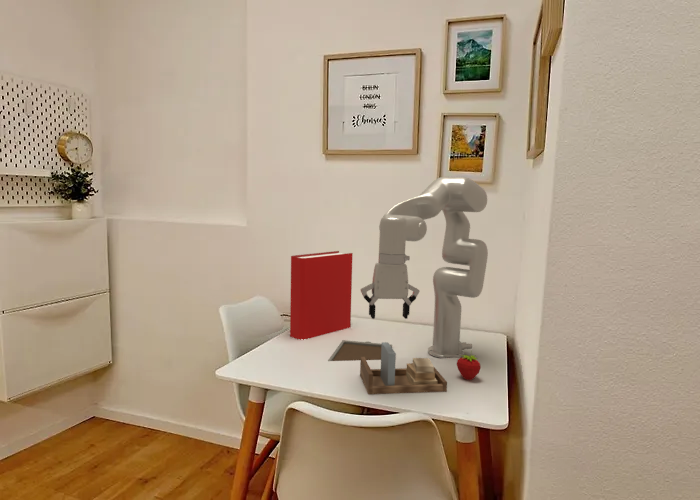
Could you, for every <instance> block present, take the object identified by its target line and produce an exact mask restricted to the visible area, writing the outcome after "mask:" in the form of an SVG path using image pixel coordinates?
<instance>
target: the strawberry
mask: <svg viewBox="0 0 700 500" xmlns="http://www.w3.org/2000/svg"><path fill="white" fill-rule="evenodd" d="M470 352H472V349H470ZM461 356H462V357H460V358H457V361H456V367H457V370H458V372H459V374H460V375H461V377H462V378H463V379H464V380H467V381H472V380H473V379H475V378H476V377H477V376H478V374H479V373H480V372H481V368H482V366H481V363H480V362H479V361H478V360H479V358H477V357H476V355H474V354H473V355H472V354H470V355H467V354H463V355H461Z"/></svg>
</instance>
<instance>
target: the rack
mask: <svg viewBox="0 0 700 500" xmlns="http://www.w3.org/2000/svg"><path fill="white" fill-rule="evenodd" d="M359 366H360V367H359V368H360V370H359V376H360V378H361V381H362V383H363V386H364V388H365V390H366V393H367V395H386V394H387V395H388V394H390V395H391V394H414V393H415V394H416V393H419V394H420V393H441V392H442V393H443V392H446V393H447V391H448V381H447V379H446V378H444V377H443V375H442V374H441V373H440V372H439V371H438V369H437V368H436V367H435V366H434V372H435V378H436V380H437V381H438V383H437V384H423V385H411V384H410V382H409V381H408V379H407V378H406V369H407V367H405V368H404V367H403V368H401V367H400V368H395V385H393V386H385V385H384V383H383V381H382V379H381V377H380V374H381V368H374V369H373V368H372V369H371V367H370V365H369V362H368V360H366V359H365V357H361V360H360V365H359Z"/></svg>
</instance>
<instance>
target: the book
mask: <svg viewBox="0 0 700 500" xmlns="http://www.w3.org/2000/svg"><path fill="white" fill-rule="evenodd" d="M352 281H353V252H348V253H342V252H340V250H335V251H326V252H316V253H306V254H304V253H303V254H297V255H291V256H290V309H289V310H290V311H289V312H290V313H289V315H290V316H289V317H290V318H289V319H290V320H289V321H290V323H289V324H290V325H289V328H290V329H289V330H290V332H289V337H290V338H293V337H294V338H293V339H295V340H298V339H300V340H299V341H304V339H306V340H308V338H309V339H312V338H316V337H320V336H323V335H327V334H328V335H329V334H331V333H334V332H335V333H336V332H339V331H343V330H346V329H350V328H351V326H352V325H351V323H352V322H351V321H352V319H351V318H352V288H353V287H352V283H353V282H352ZM301 339H303V340H301Z"/></svg>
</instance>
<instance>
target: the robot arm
mask: <svg viewBox="0 0 700 500" xmlns="http://www.w3.org/2000/svg"><path fill="white" fill-rule="evenodd" d="M487 204H488V195H487V192H486V190H485V189H484V188H483V187H482V186H481V185H479V184H478V183H477V182H476V181H474V180H472V179H471V178H469V177H465V176H440V177H437V178H436V179H435V180H433V181H432V182H431V183H430V184H429V185H428V186H427V187H426V189H424V190H423V191H422V192H421V193H420V194H419V195H416V196H414V197H411V198H409V199H406V200H404V201H402V202H399V203H396V204H395V205H393V206H392V207H391V208H390V209H389V210H387V211H386V212H385V214H384V215H383V217H381V218H380V220H379V226H378V227H379V236H378V237H379V238H378V239H379V240H378V243H379V244H378V261H377V262H376V263H375V264H374V268H373V275H372V283H370V284H368V285H366V286H363V287H362V288H360V293H361V295H362V297H363V299H364V300H366V302H367V303H368V315H369V316H370V317H371V319H373V320H374V319H375V318H376V304H375V303H376V302H377V301H379V299H381V300H403V303H402V317H403V318H404V319H405V320H406V319H407V320H408V317H409V316H410V310H411V309H410V308H411V307H410V306H411V305H412V303H413V302H415V300H416V299H417V297H418V295H419V293H420V289H418V288H417V287H415V286H413V285H411V284H409V273H408V267H407V266H408V265H407V264H406V261H410V255H406V243H407V242H418V241H419V242H420V241H421V240H422V239H424V237H425V236H426V235H427V232H428V231H427V230H428V229H427V228H428V226H427V224H426V223H427V222H426V221H425V220H429V219H432V218H435V217H436V216H438V215H439V214H440V213H441V212H442V213H443V216H444V220H445V232H444V238H443V243H442V249H441V250H442V251H441V257H442V260H443V261H444V262H445V263H447V264H451V265H452V264H453V265H460V266H469V269H466V268H460V267H459V268H458V267H452V266H442V267H441V266H440V267H439V268H437V269H436V270H435V271H434V273H433V276H432V283H433V284H432V285H433V291H434V311H433V312H434V313H433V314H434V316H433V328H432V329H433V331H432V333H433V334H432V345H431V346H429V347H428V348H427V353H428V354H429V355H431V356H433V357H435V358H440V359H460V358H462V357H463V356H461V355H464V350H465V349H466V350H472V349H473V346H474V345H473V344H472V343H467V342H462V341H461V323H462V321H461V320H462V304H461V301H460V299H459V297H464V298H473V299H475V298H478V297H479V296H480V295H481V294H482V291H483V288H484V284H485V283H484V282H485V276H486V269H487V263H488V250H489V249H488V246H487V244H486V242H484V240H481V239H477V238H476V239H475V238H470V231H471V230H470V229H471V223H470V221H469V219H468V217H467V215H466V214H465V213H481V212H482V211H484V210H485V208H486V206H487ZM370 290H371V294H372V295H371V296H370V297H369V295H368V293H367V292H369V291H370ZM409 291H411V292H412V294H411V295H410V296H409ZM408 296H409V297H408ZM458 296H459V297H458Z"/></svg>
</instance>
